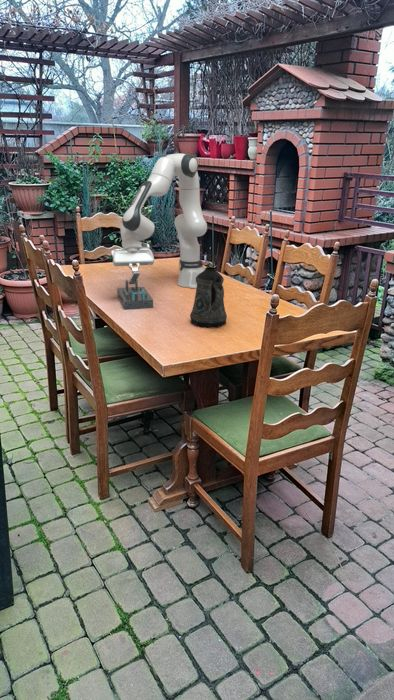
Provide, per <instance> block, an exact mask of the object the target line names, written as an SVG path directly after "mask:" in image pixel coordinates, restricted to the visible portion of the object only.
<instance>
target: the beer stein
mask: <svg viewBox="0 0 394 700" xmlns="http://www.w3.org/2000/svg"><path fill="white" fill-rule="evenodd" d="M204 268H205V270H204V271H203V272H201V273H200V274H199V275H197V277H196V282H197V288H195V289H196V290H195V293H194V294H195V295H194V302H193V307H192V310H191V312H190V314H189V315H190V316H189V318H190V321H191V324H192V325H193V324H194V325H193V326H195V325H196V326H195V327H198V326H199V327H198V328H204V327H206V329H212V328H211V327H216V328H220V327H223V326H224V325H225V324H226V321H227V317H228V315H227V313H226V309H225V308H226V307H225V301H224V297H225V288H224V286H223V283H224V280H225V279H224V277H223V276H222V275H221V273H220V272H218V270H217V268H216V267H213V266H208V267H207V266H206V267H204ZM222 325H223V326H222ZM219 326H220V327H219ZM209 327H210V328H209Z"/></svg>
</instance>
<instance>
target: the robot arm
mask: <svg viewBox="0 0 394 700" xmlns="http://www.w3.org/2000/svg"><path fill="white" fill-rule="evenodd" d="M198 169H199V161H198V159H197V157H196V156H195V155H193V154H191V153H183V152H182V153H172V154H170V153H166V154H164V155H162V156H161V157H159V158H158V159H157V161H156V162H155V164H154V166H153V167H152V170H151V173H150V175H149V177H148V179H147V180H144V181H143V182H142V183H141V185H140V186H139V188H138V190H137V191H136V193H135V195H134V196H133V199H132V201H131V202H130V204H129V206H128V207H127V209H126V210H125V212H124V213H123V215H122V217H121V218H122V219H121V224H120V227H119V228H120V231H119V232H120V237H121V240H122V242H121V246H122V248H114V249H112V250H111V252H110V253H111V255H110V256H112V265H113V266H114V267H128V268H129V269H130V270H131V274H132V273H133V271H139V269H140V266H153V265H154V263H155V257H154V253H153V251H152V250H151V249H150V248H151V246H150V244H149V243H146V242H142V241H144V240H147V239H149V238H151V237H153V235H154V233H155V230H156V229H155V228H156V227H155V223H154V222H153V221H152V220H150V219H149V218H148V217H146V216H145V215H143V214H142V209H143V207H144V205H145V203H146V201H147V199H148V197H150V196H151V197H163V196H164V195H166V194H167V193H168V192H169V190H170V187H171V184H172V182H173V178H174V177H178V178H179V179H178V193H179V194H178V196H179V197H178V199H179V206H180V208H181V209H182V213H180V214H178V215H177V216H176V217H175V219H174V222H173V223H174V224H173V225H174V227H175V229H176V232H177V236H178V241H179V249H180V250H179V261H178V269H179V273H178V279H177V283H176V285H177V286H179V287H183V288H190V289H196V288H197V282H196V277H197V275H199V274H200V273H201V272H203V271H204V270H205V268H206V267H204V266H205V265H207V264H206V261H203V260H201V259H200V257H201V255H200V254H201V246H200V243H199V241H198V237H203V236H204V235H205V234H206V232H207V231H208V223H207V221H206V220H205V218H204V214H203V211H202V207H201V194H200V190H201V188H200V180H199V178H200V177H199V174H198ZM135 266H136V267H135Z"/></svg>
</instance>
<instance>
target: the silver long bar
mask: <svg viewBox="0 0 394 700" xmlns="http://www.w3.org/2000/svg"><path fill="white" fill-rule="evenodd" d="M140 274H141V271H139V270H138V271H133V273H132V272H131V276H130V279H129V280H128V285H135V282H136V280H138V278H139V276H140Z"/></svg>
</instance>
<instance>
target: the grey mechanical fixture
mask: <svg viewBox="0 0 394 700" xmlns="http://www.w3.org/2000/svg"><path fill="white" fill-rule="evenodd" d="M128 282H129V280H128V279H125V280H124V285H125V287H117V297H118V299H119V301H120V303H121V305H122V307H123V310H140V309H154V299H153V298H152V296H151V295H150V293H149V292H148V291H147V289H146V287H145V286H139V285H138V282H139V281H138V279H137V280H136V282H135V284H134V286H130V287H129V284H128Z"/></svg>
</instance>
